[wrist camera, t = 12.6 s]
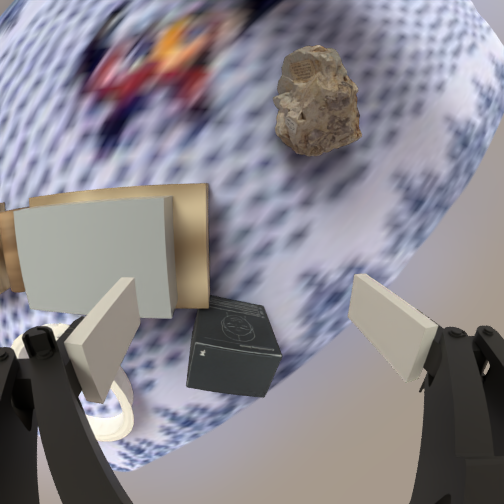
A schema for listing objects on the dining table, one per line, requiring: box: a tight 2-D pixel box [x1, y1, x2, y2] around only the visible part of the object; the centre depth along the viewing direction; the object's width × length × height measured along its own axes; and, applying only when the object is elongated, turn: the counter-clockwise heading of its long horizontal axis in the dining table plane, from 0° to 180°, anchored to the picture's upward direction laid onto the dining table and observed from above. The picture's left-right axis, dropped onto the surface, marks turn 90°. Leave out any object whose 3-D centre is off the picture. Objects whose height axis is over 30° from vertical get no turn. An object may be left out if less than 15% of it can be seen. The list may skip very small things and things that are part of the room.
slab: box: [14, 195, 178, 319], centre depth 22 cm, size 10×16×4 cm, turn 89°
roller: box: [0, 207, 30, 292], centre depth 25 cm, size 10×5×5 cm, turn 0°
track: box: [0, 183, 210, 309], centre depth 22 cm, size 12×46×10 cm, turn 89°
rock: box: [273, 45, 362, 156], centre depth 23 cm, size 9×12×10 cm
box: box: [186, 295, 282, 398], centre depth 27 cm, size 8×6×11 cm
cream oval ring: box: [11, 323, 134, 442], centre depth 31 cm, size 29×22×5 cm
